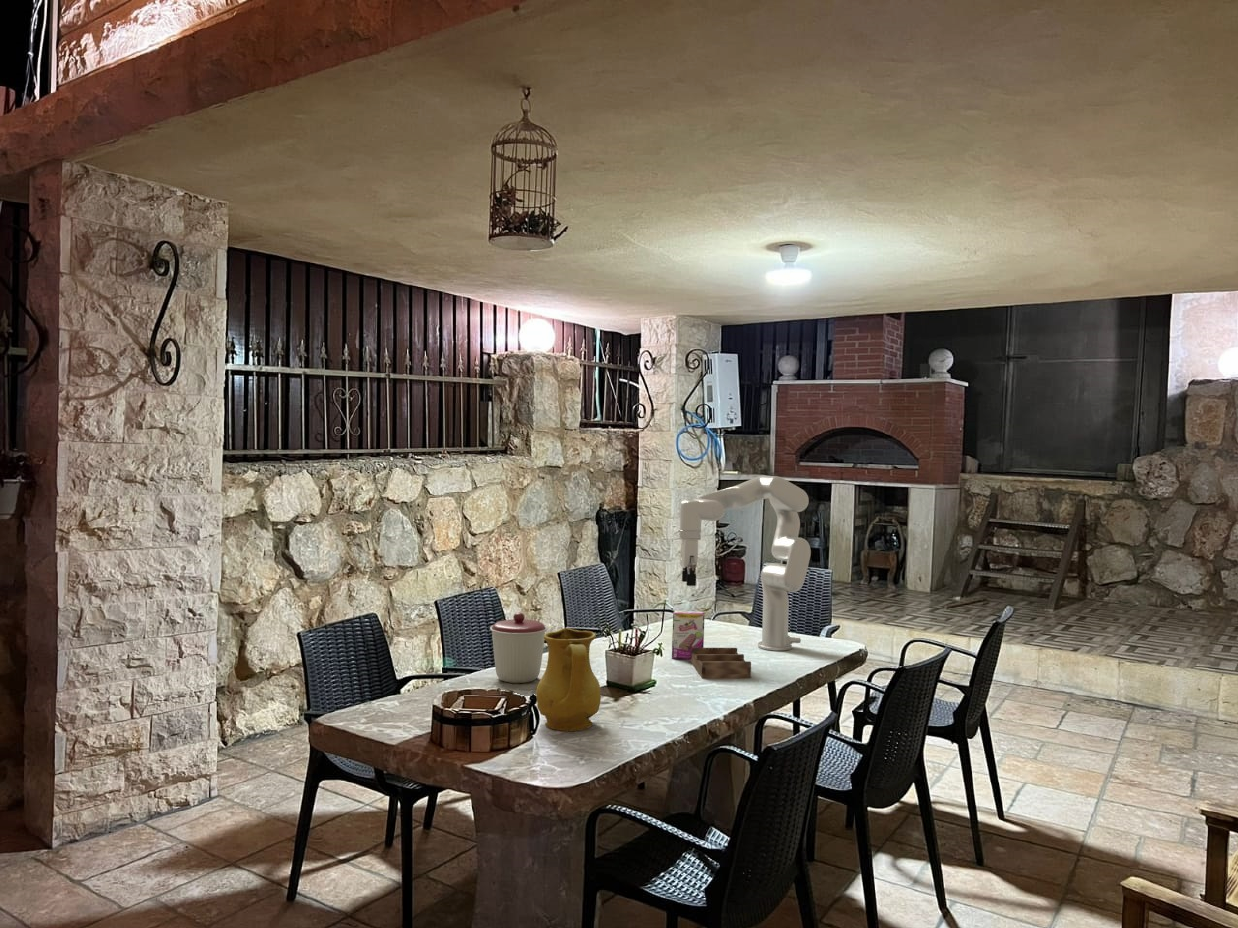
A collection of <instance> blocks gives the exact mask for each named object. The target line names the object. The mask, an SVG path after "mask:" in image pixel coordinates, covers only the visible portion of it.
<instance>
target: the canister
mask: <svg viewBox="0 0 1238 928" xmlns="http://www.w3.org/2000/svg"><path fill="white" fill-rule="evenodd" d="M525 617H526V616H525V614H524V613H523V612H516V613H514V615H513V617H512V618H513V619H505V620H501V621H497V622H495V623H494V624H493V625H491V626H490V627H489V630H490V632H491V634H492V635H491V636H492V637H491V639H492V647H493V649H492V650H493V658H494V666H495V667H494V668H495V673H496V676H497V677H498V679H499V680H500V681H503V682H506V683H510V684H522V683H523V684H524V683H525V684H526V683H530V682H533V681H535V680H536V679H537V678H538V677H539V675H540V673H541V669H542V660H543V653H544V647H545V646H544V645H545V639H544V635H546V632H547V630H548V626H547V625H545V624H544V623H542V622H541V621H538V620H533V619H525Z"/></svg>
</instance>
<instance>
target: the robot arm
mask: <svg viewBox="0 0 1238 928" xmlns="http://www.w3.org/2000/svg"><path fill="white" fill-rule="evenodd" d="M765 499H768V500H769V503H770V505H771V507H772V508H773V510H774V513H775V514H776V518H777V522H776V528H775V532H774V536H773V540H772V544H771V556H773V557H774V559H776V560H779V561H782V562H786V564H783V563H777V562H770V563H767V564H766V565H765V566H764V567H763V568H762V570H761V572H760V581H761V586H762V626H761V627H762V630H761V632H762V633H761V636H762V638H761V641H759V642H758V643H757V647H758V648H760V649H763V650H767V651H776V652H777V651H778V652H779V651H781V652H783V651H789V650H791V649H793V645H792V644H801V639H802V638H800V637H794V636H790V635H789V607H790V606H789V605H790V604H789V602H790V600H789V595H788V592H789V593H797V592H799V590H801V589H802V587H803V585H804V583H805V580H806V576H807V572H808V567H809V563H810V560H811V553H812V551H811V546H810V543H809V542H808V541H807V540H806V539H805V538H804V537H803V538H802V537H799V534H800V528H801V521H800V520H801V519H800V516H799V512H800V513H801V512H803V511H805V510H806V509H807V507H808V505H809V500H810V499H809V496H808V494H807V492H806V491H805V490H804V489H802V488H800V487H799V486H797V485H796V484H793V483H792V482H790V481H788V479H787V480H786V479H785V478H784V477H781V476H777V475H759V476H756V477H754V478H751V479H749V480H746V481H744V482H742V483H738V484H736V485H733V486H731V487H727V488H724V489H720V490H716V491H712V492H709V493H706V494H703V495H700V496H699V497H696V498H695V499H685V500H681V502H680V507H679V510H680V511H679V537H678V538H679V540H681V542H680V555H679V565H680V567H682V570H681V572H682V573H681V581H682V582H683V583H686V586H687V587H696V586H697V567H698V561H699V559H698V558H699V557H698V556H699V553H698V552H699V548H698V547H699V541H701V540H702V539H701V538H702V521H706V522H717V521H719V520H721V519H722V518H723V516H724V515H725V511H726V510H727V511H728V510H738V509H739V510H741V509H743V508H746V507H748V506H750V505H751V506H752V505H753V504H756V503H758V502H760V501H763V500H765Z"/></svg>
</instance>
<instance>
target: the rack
mask: <svg viewBox="0 0 1238 928" xmlns="http://www.w3.org/2000/svg"><path fill="white" fill-rule="evenodd" d="M690 664H691V665H692V666H693V668H694V669H695V670H696V673H698V675H699V676H700V677H701V679H752V662H751V660H750V661H746V660H745V654H743V653H742V654H741V653H740V654H739V653H738V647H704V648H691V659H690Z"/></svg>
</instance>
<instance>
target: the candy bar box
mask: <svg viewBox="0 0 1238 928" xmlns="http://www.w3.org/2000/svg"><path fill="white" fill-rule="evenodd" d="M705 614H706V613H705V612H704V611H691V610H689V611H688V610H673V614H672V617H673V618H672V637H671V638H672V641H671V643H672V644H671V659H676V660H691V648H705V646H704V645H705V643H704V642H705V641H704V640H705V619H706V618H705V616H706V615H705Z"/></svg>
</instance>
